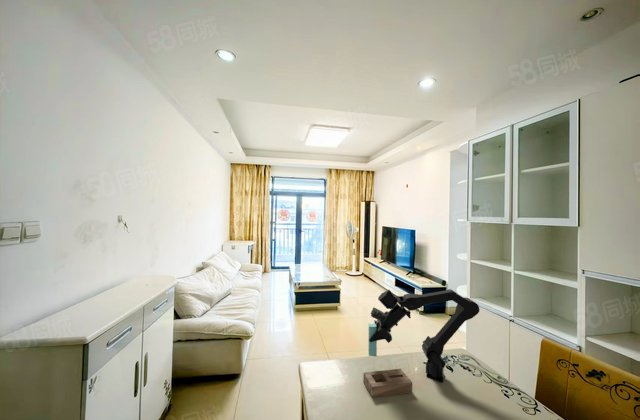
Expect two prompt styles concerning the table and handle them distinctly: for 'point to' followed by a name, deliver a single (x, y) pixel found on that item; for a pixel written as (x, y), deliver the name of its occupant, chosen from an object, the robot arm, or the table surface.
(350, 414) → the table surface
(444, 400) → the table surface
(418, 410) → the table surface
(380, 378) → the bore block
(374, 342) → the teal square peg
